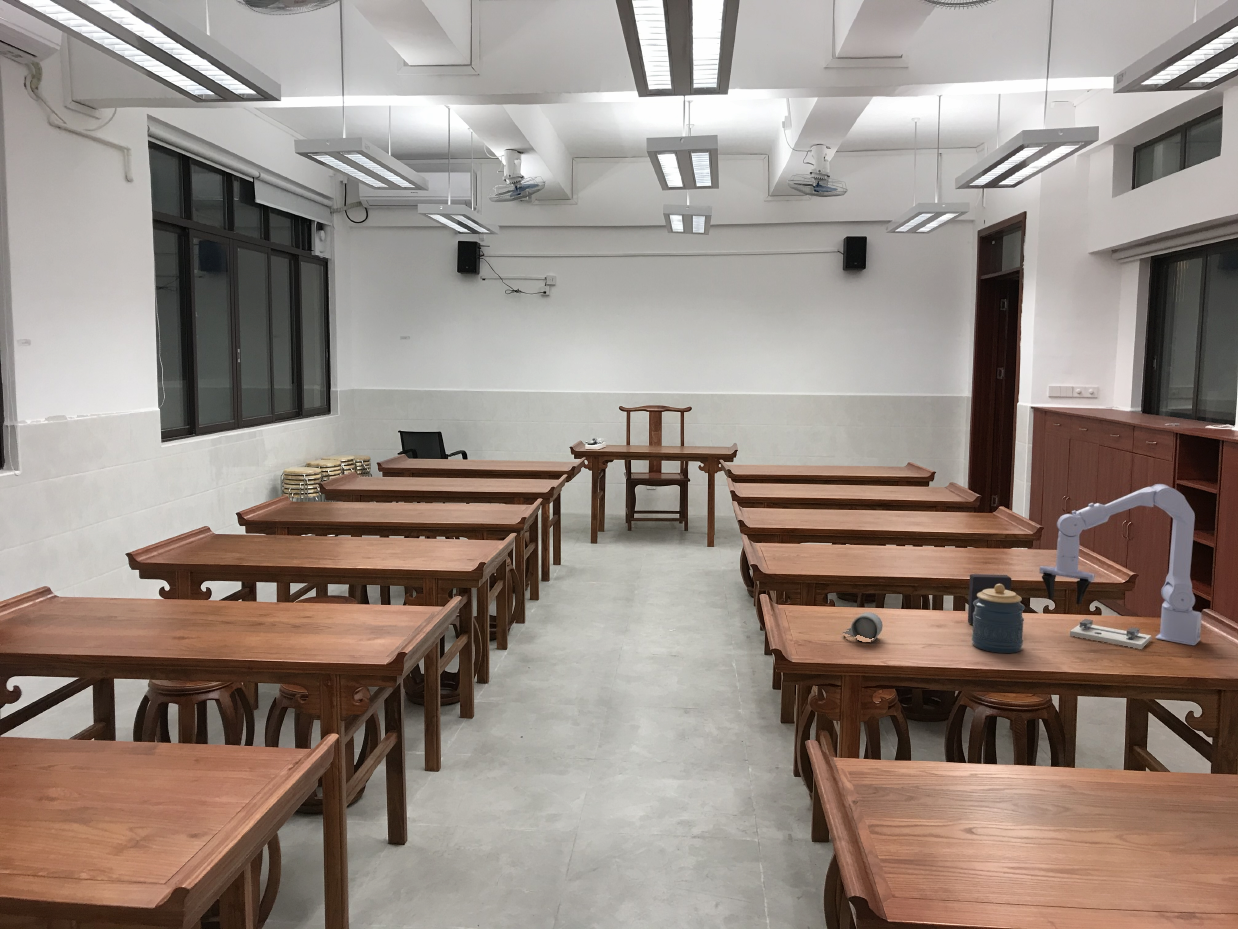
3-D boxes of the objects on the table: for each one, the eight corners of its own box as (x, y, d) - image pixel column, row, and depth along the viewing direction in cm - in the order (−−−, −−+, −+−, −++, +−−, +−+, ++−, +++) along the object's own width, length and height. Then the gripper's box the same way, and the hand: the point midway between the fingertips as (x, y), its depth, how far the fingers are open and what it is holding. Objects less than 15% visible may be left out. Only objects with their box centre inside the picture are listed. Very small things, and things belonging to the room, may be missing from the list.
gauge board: (1150, 640, 246) (1151, 634, 246) (1140, 649, 238) (1141, 643, 238) (1081, 627, 259) (1081, 622, 259) (1069, 636, 251) (1070, 630, 251)
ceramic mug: (883, 637, 250) (884, 610, 249) (878, 645, 242) (878, 617, 242) (846, 632, 254) (846, 606, 254) (839, 640, 247) (840, 613, 246)
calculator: (1004, 623, 264) (1006, 574, 262) (1009, 627, 260) (1011, 577, 258) (966, 621, 265) (968, 573, 263) (971, 626, 261) (973, 576, 259)
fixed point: (1139, 634, 246) (1139, 628, 246) (1133, 638, 242) (1133, 632, 242) (1131, 632, 247) (1131, 627, 247) (1125, 637, 243) (1125, 631, 243)
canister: (998, 656, 233) (1001, 591, 231) (961, 643, 244) (963, 581, 242) (1033, 650, 238) (1036, 587, 236) (995, 637, 250) (998, 576, 248)
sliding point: (1092, 625, 254) (1092, 620, 254) (1086, 629, 250) (1086, 624, 250) (1084, 624, 256) (1085, 618, 256) (1078, 628, 251) (1079, 622, 251)
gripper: (1036, 553, 257) (1034, 599, 259) (1090, 561, 247) (1087, 608, 249) (1045, 550, 262) (1042, 594, 264) (1098, 558, 252) (1095, 604, 253)
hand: (1064, 601), depth 256 cm, fingers open, 7 cm apart
